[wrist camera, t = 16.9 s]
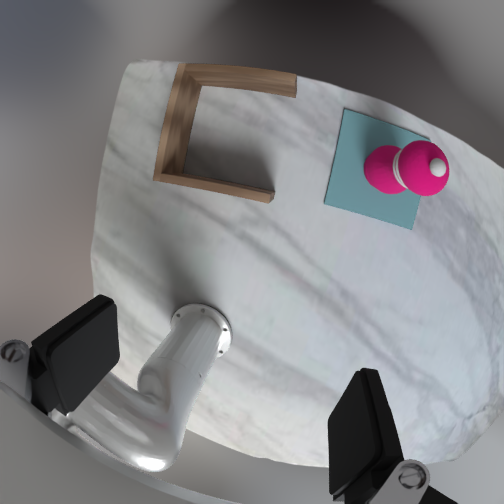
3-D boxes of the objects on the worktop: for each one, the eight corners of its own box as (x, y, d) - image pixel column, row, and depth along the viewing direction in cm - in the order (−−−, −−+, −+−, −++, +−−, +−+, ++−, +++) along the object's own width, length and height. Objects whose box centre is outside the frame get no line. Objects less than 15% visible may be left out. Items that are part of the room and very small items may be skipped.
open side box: (273, 198, 43) (268, 203, 35) (175, 179, 45) (152, 180, 37) (296, 91, 38) (296, 74, 30) (197, 79, 39) (178, 63, 32)
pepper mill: (351, 163, 39) (395, 153, 20) (384, 139, 37) (444, 116, 18) (377, 201, 40) (434, 221, 21) (408, 176, 38) (479, 180, 19)
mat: (410, 229, 40) (411, 230, 40) (323, 203, 42) (324, 204, 41) (429, 141, 36) (431, 140, 35) (344, 109, 37) (344, 109, 37)
